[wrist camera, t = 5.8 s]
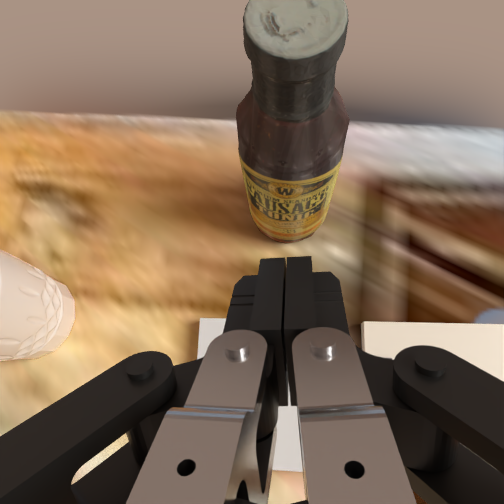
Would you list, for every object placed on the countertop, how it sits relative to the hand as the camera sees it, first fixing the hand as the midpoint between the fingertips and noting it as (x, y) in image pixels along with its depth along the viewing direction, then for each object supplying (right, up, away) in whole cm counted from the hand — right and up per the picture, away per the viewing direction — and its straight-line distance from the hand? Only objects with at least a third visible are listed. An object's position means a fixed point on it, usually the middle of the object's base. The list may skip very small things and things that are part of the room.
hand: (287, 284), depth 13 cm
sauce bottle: (+2, +4, +22) cm, 23 cm away
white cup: (-19, -4, +22) cm, 29 cm away
